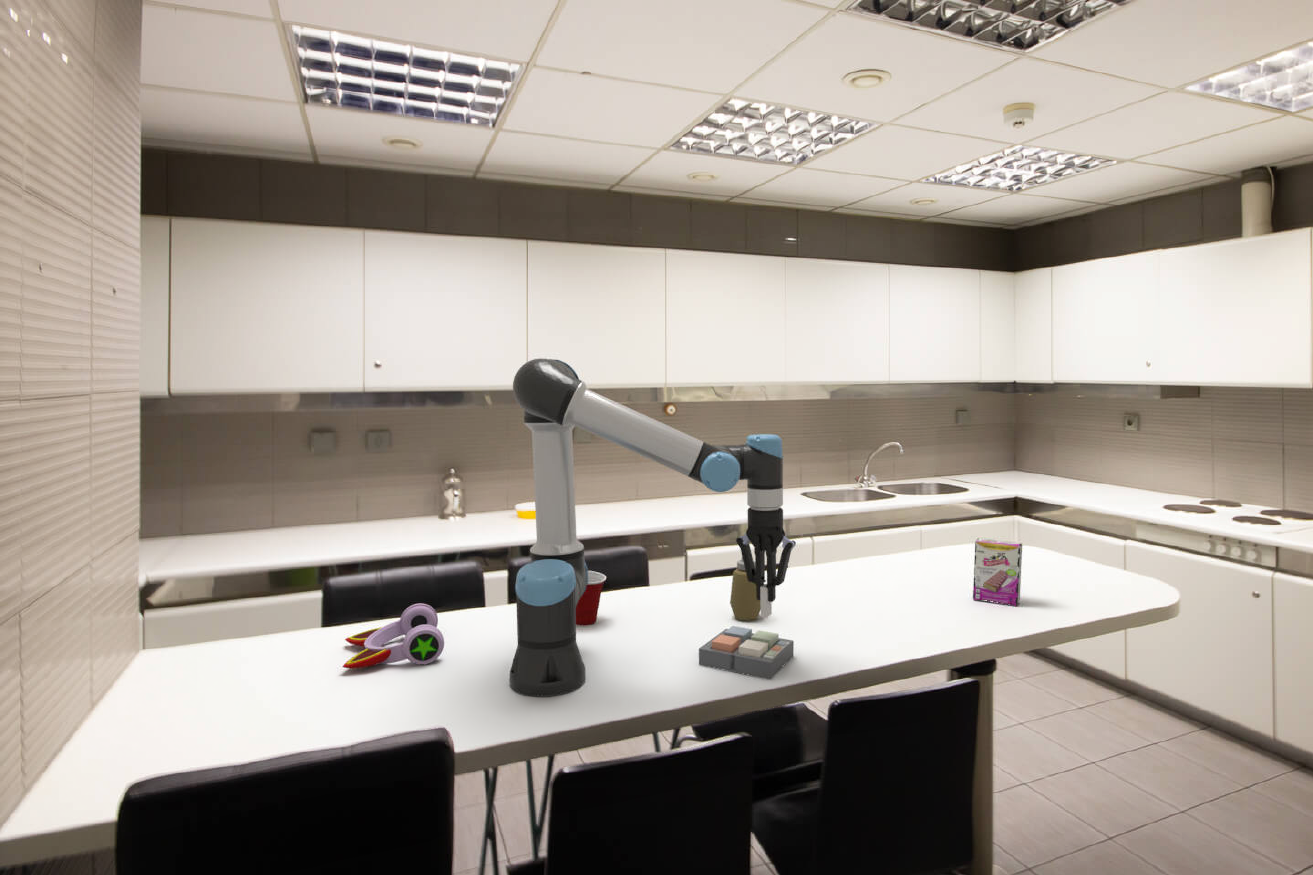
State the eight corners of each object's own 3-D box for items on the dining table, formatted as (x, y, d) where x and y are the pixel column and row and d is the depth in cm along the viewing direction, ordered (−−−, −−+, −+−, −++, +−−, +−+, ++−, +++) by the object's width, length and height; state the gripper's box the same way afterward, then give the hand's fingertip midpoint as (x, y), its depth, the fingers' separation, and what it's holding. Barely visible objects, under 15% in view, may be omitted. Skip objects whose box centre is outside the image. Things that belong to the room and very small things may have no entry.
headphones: (446, 627, 157) (345, 628, 150) (442, 672, 157) (341, 675, 150) (438, 601, 175) (348, 601, 168) (434, 642, 176) (344, 643, 168)
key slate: (743, 649, 158) (743, 635, 158) (724, 645, 161) (724, 631, 160) (751, 642, 162) (751, 629, 162) (732, 638, 165) (732, 625, 164)
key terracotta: (731, 658, 153) (731, 644, 152) (711, 655, 155) (711, 641, 155) (740, 651, 157) (740, 638, 156) (720, 647, 159) (720, 634, 159)
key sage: (770, 654, 155) (770, 640, 155) (750, 650, 157) (750, 636, 157) (778, 647, 159) (778, 633, 159) (758, 643, 161) (758, 630, 161)
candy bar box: (972, 600, 197) (974, 540, 196) (975, 596, 202) (977, 537, 200) (1018, 607, 191) (1020, 545, 190) (1020, 602, 196) (1022, 542, 194)
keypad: (770, 679, 147) (770, 660, 147) (698, 664, 155) (698, 646, 155) (793, 656, 159) (793, 638, 159) (726, 643, 167) (726, 626, 167)
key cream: (759, 664, 150) (759, 650, 149) (738, 660, 152) (738, 646, 152) (767, 657, 154) (767, 643, 153) (747, 653, 156) (747, 639, 156)
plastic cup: (600, 630, 176) (599, 581, 175) (557, 627, 179) (556, 579, 178) (612, 616, 187) (611, 570, 186) (571, 613, 189) (570, 568, 188)
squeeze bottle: (754, 625, 180) (754, 552, 178) (724, 619, 184) (724, 549, 182) (767, 615, 186) (767, 546, 185) (738, 610, 191) (738, 542, 189)
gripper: (800, 506, 156) (800, 614, 158) (743, 502, 162) (744, 606, 164) (788, 512, 149) (789, 624, 151) (729, 507, 156) (731, 616, 158)
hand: (766, 615), depth 158 cm, fingers closed
